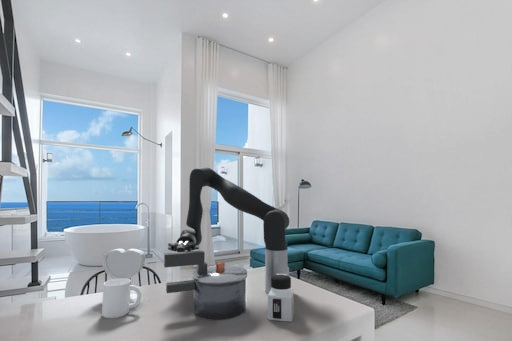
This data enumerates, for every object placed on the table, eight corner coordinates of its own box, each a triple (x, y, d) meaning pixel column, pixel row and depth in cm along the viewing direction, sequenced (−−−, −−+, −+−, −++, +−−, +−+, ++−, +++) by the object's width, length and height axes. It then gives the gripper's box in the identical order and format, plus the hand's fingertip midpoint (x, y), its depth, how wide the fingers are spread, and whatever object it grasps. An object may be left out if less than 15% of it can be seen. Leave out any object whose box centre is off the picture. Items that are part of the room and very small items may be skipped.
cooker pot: (236, 297, 110) (237, 268, 111) (252, 315, 94) (253, 280, 95) (164, 306, 101) (165, 274, 102) (167, 328, 84) (168, 290, 85)
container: (291, 322, 88) (291, 279, 90) (267, 320, 90) (267, 277, 91) (293, 312, 96) (293, 273, 97) (271, 310, 98) (271, 271, 99)
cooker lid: (237, 267, 112) (237, 244, 113) (255, 280, 94) (255, 253, 95) (161, 274, 102) (162, 249, 102) (165, 290, 84) (166, 260, 85)
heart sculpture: (98, 298, 108) (101, 250, 110) (105, 294, 113) (108, 248, 115) (139, 298, 108) (141, 250, 110) (144, 294, 113) (146, 248, 115)
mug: (143, 307, 99) (144, 277, 100) (137, 317, 91) (138, 284, 92) (107, 309, 98) (109, 278, 99) (97, 319, 90) (99, 286, 91)
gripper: (171, 234, 124) (162, 240, 107) (201, 233, 126) (197, 239, 109) (170, 251, 124) (161, 260, 107) (201, 251, 125) (197, 259, 108)
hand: (180, 250), depth 108 cm, fingers closed
